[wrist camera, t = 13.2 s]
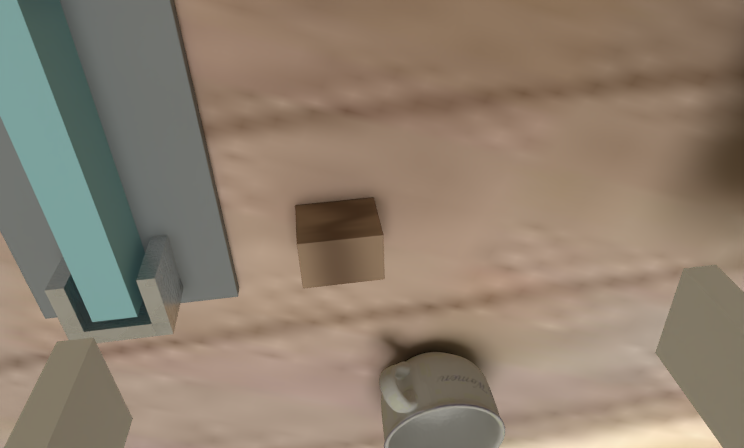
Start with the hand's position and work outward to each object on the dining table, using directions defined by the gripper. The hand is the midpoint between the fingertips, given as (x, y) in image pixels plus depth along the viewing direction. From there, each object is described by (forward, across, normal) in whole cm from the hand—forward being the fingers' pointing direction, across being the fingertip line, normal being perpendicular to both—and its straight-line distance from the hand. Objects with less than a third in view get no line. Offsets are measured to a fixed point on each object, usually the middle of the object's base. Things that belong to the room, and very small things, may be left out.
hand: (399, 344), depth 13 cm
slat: (+26, +17, +4) cm, 31 cm away
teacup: (+28, -5, +33) cm, 43 cm away
